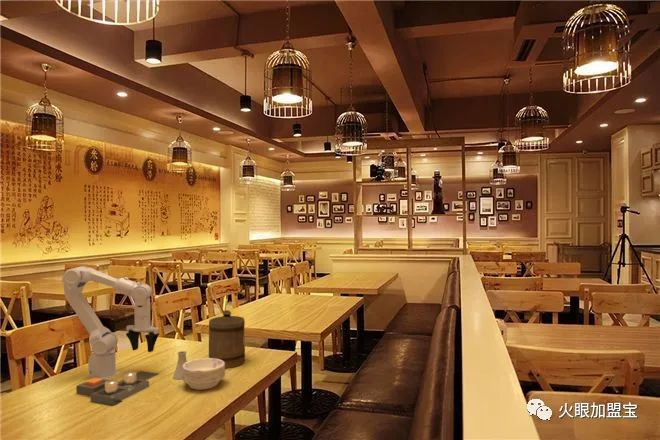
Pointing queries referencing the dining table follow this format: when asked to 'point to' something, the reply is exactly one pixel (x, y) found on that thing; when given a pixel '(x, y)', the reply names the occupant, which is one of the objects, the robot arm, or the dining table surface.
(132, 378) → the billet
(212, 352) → the wooden container
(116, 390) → the light bulb
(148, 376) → the rubber mat
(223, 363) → the paper bowls
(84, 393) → the button housing
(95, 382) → the button
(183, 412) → the dining table surface
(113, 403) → the grey flat rectangular frame
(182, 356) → the flask
